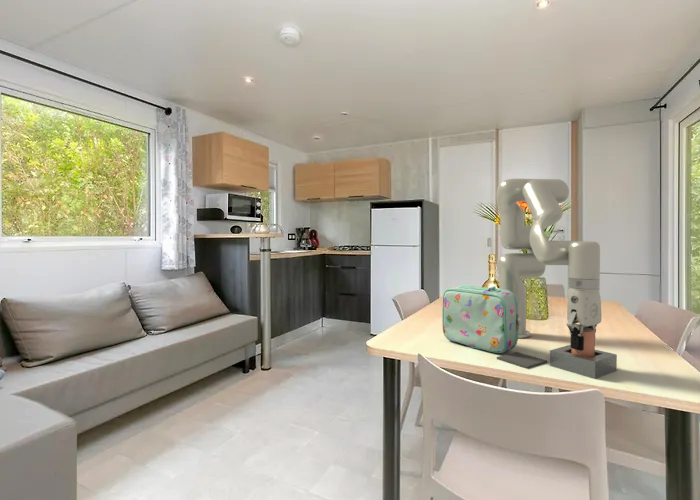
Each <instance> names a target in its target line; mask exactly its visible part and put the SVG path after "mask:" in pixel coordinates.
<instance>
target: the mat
mask: <svg viewBox="0 0 700 500" xmlns="http://www.w3.org/2000/svg"><path fill="white" fill-rule="evenodd" d="M496 360H499V361H502V362H505V363H508V364H511V365H515V366H518V367H521V368H524V369H531V368H533V367H537V366H540V365H543V364H546V363H548V360H546V359H543V358H540V357H536V356H532V355H530V354H529V355H528V354H525V353H521V352H518V351H515V352H510V353H506V354H502V355H500V356H496Z"/></svg>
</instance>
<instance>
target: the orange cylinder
mask: <svg viewBox="0 0 700 500" xmlns="http://www.w3.org/2000/svg"><path fill="white" fill-rule="evenodd" d="M577 329H578V330H579V327H577ZM582 336H584V350H582V351H580V350H576V349H572V348H571V353H572V354H576V355H580V356H584V357H588V358H591V357H594V356H595V350H596V349H595V347H596V333H595V331H594V330H592V329H591V328H588V327H584V328H583V333H582Z"/></svg>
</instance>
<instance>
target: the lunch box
mask: <svg viewBox="0 0 700 500" xmlns="http://www.w3.org/2000/svg"><path fill="white" fill-rule="evenodd" d="M496 287H497V286H492V287H482V286H476V285H475V286H473V285H466V284H465V285H464V284H461V285H459V286H458V285H457V287H451V288H450V287H449V288H447V289H445V290H444V292H443V295H442V315H441V316H442V332H443V335H444V337H445V338H446V339H447V340H449V341H451V342H455V343H459V344H461V345H465V346H467V347H470V348H471V349H477V350H483V351H487V352H489V353H496V354H503V353H505V352H507V351H508V350H512V349H514V348H515V347H516V346H517V343H518V341H519V338H518V335H519V326H521V322H520V318H518V316H519V315H518V301H517V298H516V296H515V295H514V294H513V293H512V292H510V291H508V290H505V289H500V288H496Z"/></svg>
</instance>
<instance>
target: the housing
mask: <svg viewBox="0 0 700 500" xmlns="http://www.w3.org/2000/svg"><path fill="white" fill-rule="evenodd" d="M617 357H618V354H617V353H611V352H608V351H603V350H599V349H595V356H594V357H591V358H588V357H584V356H580V355H576V354H572V353H571V344H568V345H565V346H560V347H557V348H554V349H550V350H549V366H550V367H553V368H557V369H560V370H563V371H566V372H571V373H575V374H577V375H581V376H584V377H586V378H587V377H588V378H590V379H595V380H596V379H599V378H601V377H603V376H606V375H609V374H611V373H614V372H616V371H617V365H618V363H617V361H618V358H617Z"/></svg>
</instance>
